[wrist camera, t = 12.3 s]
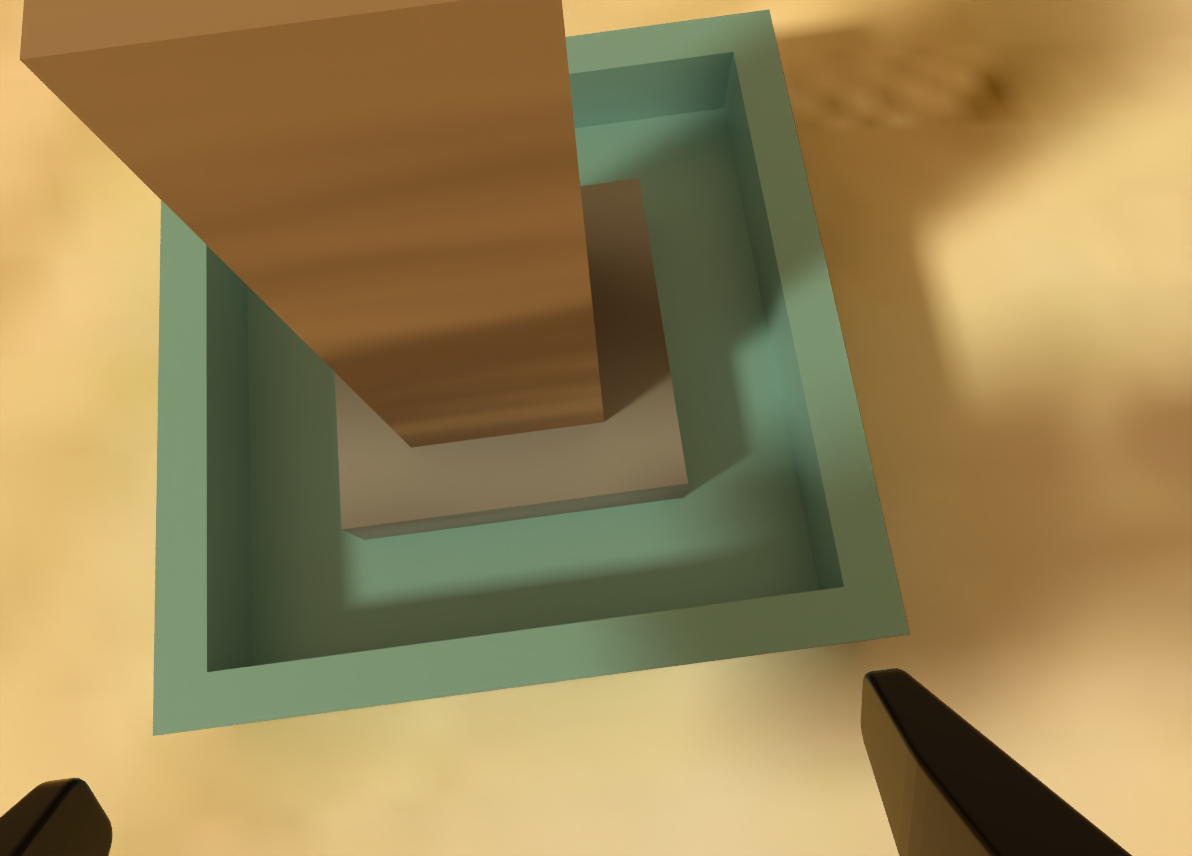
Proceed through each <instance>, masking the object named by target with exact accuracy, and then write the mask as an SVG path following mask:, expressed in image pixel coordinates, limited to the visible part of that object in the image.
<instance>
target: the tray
mask: <svg viewBox="0 0 1192 856" xmlns="http://www.w3.org/2000/svg"><path fill="white" fill-rule="evenodd" d="M565 39H566V49H567V59H568V69H569V79H570V89H571V98H572V108H573V118H574V128H575V138H576V148H577V158H578V168H579V178H580V186H585V185H593V184H600V183H608V182H615V181H623V180H631V179H638V178H639V180H640V186H641V193H642V199H643V205H644V211H645V218H646V224H647V230H648V236H649V242H650V249H651V255H652V261H653V267H654V274H655V280H656V286H657V292H658V299H659V305H660V311H661V317H662V323H663V330H664V336H665V342H666V348H667V355H668V361H669V367H670V373H671V380H672V386H673V392H674V398H675V405H676V411H677V417H678V423H679V429H680V436H681V442H682V448H683V454H684V461H685V467H686V473H687V479H688V486H687V489H686V492H685V495H684V498H678V499H671V500H663V501H656V502H648V503H641V504H633V505H625V506H618V507H610V508H603V509H595V510H588V511H580V512H573V513H565V514H557V515H550V516H542V517H535V518H527V519H520V520H512V521H505V522H497V523H489V524H482V525H474V526H467V527H459V528H452V529H444V530H437V531H429V532H421V533H414V534H406V535H399V536H391V537H384V538H376V539H369V540H363V539H361V538H359V537H357V536H355V535H352V534H350V533H348V532H346V531H344V530H342V526H341V504H340V481H339V458H338V435H337V412H336V390H335V372H334V371H333V370H332V369H331V368H330V367H329V366H328V365H327V364H326V363H325V362H324V361H323V360H322V359H321V358H320V357H319V356H318V355H317V354H316V353H315V352H314V351H313V350H312V349H311V348H310V347H309V346H308V345H307V344H306V343H305V342H304V341H303V340H302V339H301V338H300V337H299V336H298V335H297V334H296V333H295V332H294V331H293V330H292V329H291V328H290V327H289V326H288V325H287V324H286V323H285V322H284V321H283V320H282V319H281V318H280V317H279V316H278V315H277V314H276V313H275V312H274V311H273V310H272V309H271V308H270V307H269V306H268V305H267V304H266V303H265V302H264V301H263V300H262V299H261V298H260V297H259V296H258V295H257V294H256V293H255V292H254V291H253V290H252V289H251V288H250V287H249V286H248V285H247V284H246V283H245V282H244V281H242V280H241V279H240V278H239V277H238V276H237V275H236V274H235V273H234V272H233V271H232V270H231V269H230V268H229V267H228V266H227V265H226V264H225V263H224V262H223V261H222V260H221V259H220V258H219V257H218V256H217V255H216V254H215V253H214V252H213V251H212V250H211V249H210V248H209V247H208V246H207V245H206V244H205V243H204V242H203V241H202V240H201V239H200V238H199V237H198V236H197V235H196V234H195V233H194V232H193V231H192V230H191V229H190V228H189V227H188V226H187V225H186V224H185V223H184V222H183V221H182V220H181V219H180V218H179V217H178V216H177V215H176V214H175V213H174V212H173V211H172V210H171V209H170V208H169V207H168V206H167V205H166V204H165V203H164V202H163V201H162V200H161V244H160V309H159V374H158V440H157V505H156V570H155V635H154V700H153V736H155V735H163V734H170V733H178V732H185V731H193V730H200V729H208V728H215V727H223V726H230V725H237V724H245V723H252V722H260V721H267V720H275V719H282V718H290V717H297V716H305V715H312V714H320V713H327V712H334V711H342V710H349V709H357V708H364V707H372V706H379V705H387V704H394V703H402V702H409V701H417V700H424V699H431V698H439V697H446V696H454V695H461V694H469V693H476V692H484V691H491V690H499V689H506V688H514V687H521V686H529V685H536V684H543V683H551V682H558V681H566V680H573V679H581V678H588V677H596V676H603V675H611V674H618V673H626V672H633V671H640V670H648V669H655V668H663V667H670V666H678V665H685V664H693V663H700V662H708V661H715V660H723V659H730V658H737V657H745V656H752V655H760V654H767V653H775V652H782V651H790V650H797V649H805V648H812V647H820V646H827V645H834V644H842V643H849V642H857V641H864V640H872V639H879V638H887V637H894V636H902V635H909V634H910V633H909V629H908V624H907V620H906V615H905V611H904V606H903V602H902V597H901V593H900V589H899V584H898V580H897V575H896V571H895V566H894V562H893V557H892V553H891V549H890V544H889V540H888V535H887V531H886V526H885V522H884V517H883V513H882V509H881V504H880V500H879V495H878V491H877V486H876V482H875V477H874V473H873V469H872V464H871V460H870V455H869V451H868V446H867V442H866V438H865V433H864V429H863V424H862V420H861V415H860V411H859V406H858V402H857V398H856V393H855V389H854V384H853V380H852V375H851V371H850V366H849V362H848V358H847V353H846V349H845V344H844V340H843V335H842V331H841V326H840V322H839V318H838V313H837V309H836V304H835V300H834V295H833V291H832V286H831V282H830V278H829V273H828V269H827V264H826V260H825V255H824V251H823V246H822V242H821V238H820V233H819V229H818V224H817V220H816V215H815V211H814V207H813V202H812V198H811V193H810V189H809V184H808V180H807V175H806V171H805V167H804V162H803V158H802V153H801V149H800V144H799V140H798V135H797V131H796V127H795V122H794V118H793V113H792V109H791V104H790V100H789V95H788V91H787V87H786V82H785V78H784V73H783V69H782V64H781V60H780V55H779V51H778V47H777V42H776V38H775V33H774V29H773V24H772V20H771V15H770V11H769V10H763V11H755V12H748V13H740V14H733V15H726V16H718V17H711V18H703V19H696V20H689V21H681V22H674V23H666V24H659V25H651V26H644V27H637V28H629V29H622V30H614V31H607V32H600V33H592V34H585V35H577V36H570V37H565Z"/></svg>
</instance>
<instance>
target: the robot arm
mask: <svg viewBox="0 0 1192 856" xmlns="http://www.w3.org/2000/svg"><path fill="white" fill-rule="evenodd" d="M861 730H862V735H863V740H864V744H865V747H866V750H867V753H868V757H869V760H870V763H871V766H872V769H873V773H874V776H875V779H876V782H877V785H878V789H879V792H880V795H881V798H882V801H883V805H884V808H885V811H886V814H887V817H888V821H889V824H890V827H891V830H892V833H893V837H894V840H895V843H896V846H897V849H898V852H899V855H900V856H1132V855H1131V854H1129V853H1128V852H1127V851H1126V850H1124V849H1123V848H1122V847H1121V846H1120V845H1118V844H1117V843H1116V842H1115V841H1113V840H1112V839H1111V838H1110V837H1108V836H1107V835H1106V834H1105V833H1104V832H1102V831H1101V830H1100V829H1099V828H1097V827H1096V826H1095V825H1094V824H1092V823H1091V822H1090V821H1089V820H1088V819H1086V818H1085V817H1084V816H1083V815H1081V814H1080V813H1079V812H1078V811H1076V810H1075V809H1074V808H1073V807H1072V806H1070V805H1069V804H1068V803H1067V802H1065V801H1064V800H1063V799H1062V798H1060V797H1059V796H1058V795H1057V794H1056V793H1054V792H1053V791H1052V790H1051V789H1049V788H1048V787H1047V786H1046V785H1044V784H1043V783H1042V782H1041V781H1040V780H1038V779H1037V778H1036V777H1035V776H1033V775H1032V774H1031V773H1030V772H1028V771H1027V770H1026V769H1025V768H1024V767H1022V766H1021V765H1020V764H1019V763H1017V762H1016V761H1015V760H1014V759H1012V758H1011V757H1010V756H1009V755H1008V754H1006V753H1005V752H1004V751H1003V750H1001V749H1000V748H999V747H998V746H996V745H995V744H994V743H993V742H992V741H990V740H989V739H988V738H987V737H985V736H984V735H983V734H982V733H980V732H979V731H978V730H977V729H976V728H974V727H973V726H972V725H971V724H969V723H968V722H967V721H966V720H964V719H963V718H962V717H961V716H960V715H958V714H957V713H956V712H955V711H953V710H952V709H951V708H950V707H948V706H947V705H946V704H945V703H944V702H942V701H941V700H940V699H939V698H937V697H936V696H935V695H934V694H932V693H931V692H930V691H929V690H928V689H926V688H925V687H924V686H923V685H921V684H920V683H919V682H918V681H916V680H915V679H914V678H913V677H912V676H910V675H909V674H908V673H907V672H905V671H903V670H901V669H887V670H879V671H872V672H869V673H867V674H866V675H865V677H864V679H863V690H862V709H861ZM111 843H112V826H111V822H110V820H109V818H108V817H107V815H106V813H105V812H104V810H103V809H102V807H101V805H100V804H99V802H98V800H97V799H96V797H95V796H94V794H93V792H92V791H91V789H90V788H89V786H88V785H87V783H86V782H85V781H83V780H81V779H79V778H69V779H62V780H54V781H48V782H45V783H42V784H40V785H38V786H37V787H36V788H34V789H33V790H32V791H31V792H29V793H28V794H27V795H26V796H25V797H24V798H22V799H21V800H20V801H19V802H18V803H17V804H15V805H14V806H13V807H12V808H11V809H10V810H9V811H7V812H6V813H5V814H4V815H3V816H2V817H0V856H109V852H110V848H111Z"/></svg>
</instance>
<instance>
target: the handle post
mask: <svg viewBox="0 0 1192 856" xmlns="http://www.w3.org/2000/svg"><path fill="white" fill-rule="evenodd" d="M20 60H21V61H22V62H23V63H24V64H25V65H26V66H27V67H28V68H29V69H30V70H31V71H32V72H33V73H34V74H35V75H36V76H37V77H38V78H39V79H40V80H41V81H42V82H43V83H44V84H45V85H46V86H47V87H48V88H49V89H50V90H51V91H52V92H53V93H54V94H55V95H56V96H57V97H58V98H59V99H60V100H61V101H62V102H63V103H64V104H65V105H66V106H67V107H68V108H69V109H70V110H71V111H72V112H73V113H74V114H75V115H76V116H77V117H78V118H79V119H80V120H81V121H82V122H83V123H84V124H85V125H86V126H87V127H88V128H89V129H90V130H91V131H92V132H93V133H94V134H95V135H96V136H97V137H98V138H99V139H100V140H101V141H102V142H103V143H104V144H105V145H107V146H108V147H109V148H110V149H111V150H112V151H113V152H114V153H115V154H116V155H117V156H118V157H119V158H120V159H121V160H122V161H123V162H124V163H125V164H126V165H127V166H128V167H129V168H130V169H131V170H132V171H133V172H134V173H135V174H136V175H137V176H138V177H139V178H140V179H141V180H142V181H143V182H144V183H145V184H146V185H147V186H148V187H149V188H150V189H151V190H152V191H153V192H154V193H155V194H156V195H157V196H158V197H159V198H160V199H161V200H162V201H163V202H164V203H165V204H166V205H167V206H168V207H169V208H170V209H171V210H172V211H173V212H174V213H175V214H176V215H177V216H178V217H179V218H180V219H181V220H182V221H183V222H184V223H185V224H186V225H187V226H188V227H189V228H190V229H191V230H192V231H193V232H194V233H195V234H196V235H197V236H198V237H199V238H200V239H201V240H202V241H203V242H204V243H205V244H206V245H207V246H208V247H209V248H210V249H211V250H212V251H213V252H214V253H215V254H216V255H217V256H218V257H219V258H220V259H221V260H222V261H223V262H224V263H225V264H226V265H227V266H228V267H229V268H230V269H231V270H232V271H233V272H234V273H235V274H236V275H237V276H238V277H239V278H240V279H241V280H242V281H244V282H245V283H246V284H247V285H248V286H249V287H250V288H251V289H252V290H253V291H254V292H255V293H256V294H257V295H258V296H259V297H260V298H261V299H262V300H263V301H264V302H265V303H266V304H267V305H268V306H269V307H270V308H271V309H272V310H273V311H274V312H275V313H276V314H277V315H278V316H279V317H280V318H281V319H282V320H283V321H284V322H285V323H286V324H287V325H288V326H289V327H290V328H291V329H292V330H293V331H294V332H295V333H296V334H297V335H298V336H299V337H300V338H301V339H302V340H303V341H304V342H305V343H306V344H307V345H308V346H309V347H310V348H311V349H312V350H313V351H314V352H315V353H316V354H317V355H318V356H319V357H320V358H321V359H322V360H323V361H324V362H325V363H326V364H327V365H328V366H329V367H330V368H331V369H332V370H333V371H334V372H335V390H336V412H337V435H338V458H339V481H340V504H341V526H342V530H344V531H346V532H348V533H350V534H352V535H355V536H357V537H359V538H361V539H363V540H369V539H376V538H384V537H391V536H399V535H406V534H414V533H421V532H429V531H437V530H444V529H452V528H459V527H467V526H474V525H482V524H489V523H497V522H505V521H512V520H520V519H527V518H535V517H542V516H550V515H557V514H565V513H573V512H580V511H588V510H595V509H603V508H610V507H618V506H625V505H633V504H641V503H648V502H656V501H663V500H671V499H678V498H684V495H685V492H686V489H687V486H688V479H687V473H686V467H685V461H684V454H683V448H682V442H681V436H680V429H679V423H678V417H677V411H676V405H675V398H674V392H673V386H672V380H671V373H670V367H669V361H668V355H667V348H666V342H665V336H664V330H663V323H662V317H661V311H660V305H659V299H658V292H657V286H656V280H655V274H654V267H653V261H652V255H651V249H650V242H649V236H648V230H647V224H646V218H645V211H644V205H643V199H642V193H641V186H640V180H639V178H638V179H631V180H623V181H615V182H608V183H600V184H593V185H585V186H580V178H579V168H578V158H577V148H576V138H575V128H574V118H573V108H572V98H571V89H570V79H569V69H568V59H567V49H566V39H565V29H564V19H563V10H562V0H24V10H23V24H22V37H21V51H20Z"/></svg>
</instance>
